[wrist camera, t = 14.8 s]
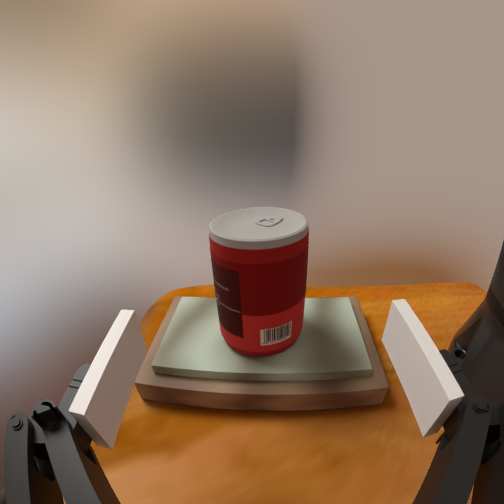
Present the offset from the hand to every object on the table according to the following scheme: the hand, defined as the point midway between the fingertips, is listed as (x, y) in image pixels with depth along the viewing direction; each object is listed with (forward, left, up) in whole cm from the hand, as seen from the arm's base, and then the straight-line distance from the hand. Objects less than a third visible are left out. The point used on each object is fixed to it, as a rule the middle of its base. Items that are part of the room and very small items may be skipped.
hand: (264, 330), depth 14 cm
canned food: (-4, -10, -9) cm, 14 cm away
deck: (-4, -10, -13) cm, 16 cm away
